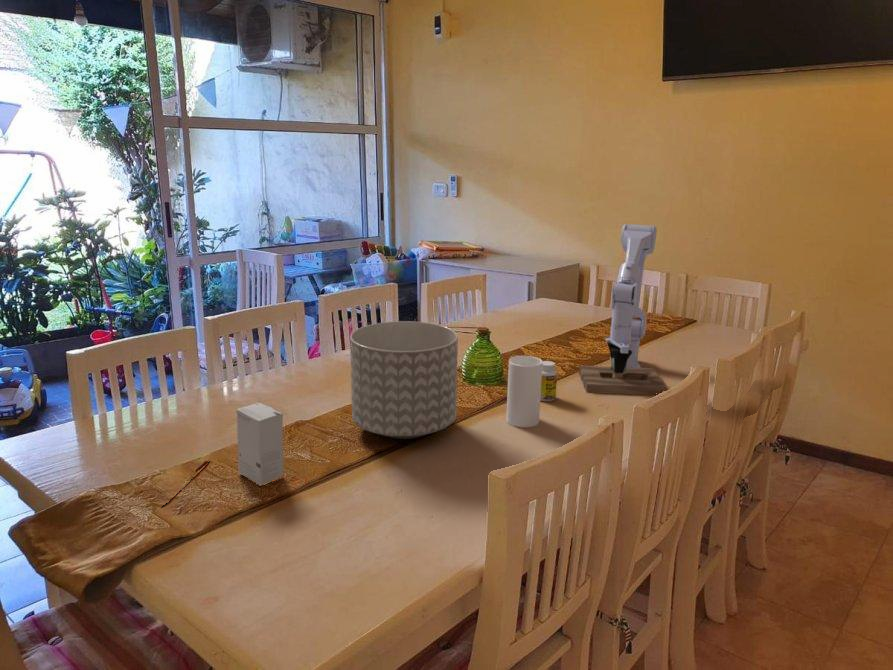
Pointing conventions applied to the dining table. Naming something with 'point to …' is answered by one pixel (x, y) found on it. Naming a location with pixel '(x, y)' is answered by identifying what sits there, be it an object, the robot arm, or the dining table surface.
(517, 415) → the cup
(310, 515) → the dining table surface
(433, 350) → the planter
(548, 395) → the supplement bottle
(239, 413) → the skincare box
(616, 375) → the peg
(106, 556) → the dining table surface
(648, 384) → the keyhole board
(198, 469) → the pen
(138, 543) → the dining table surface
